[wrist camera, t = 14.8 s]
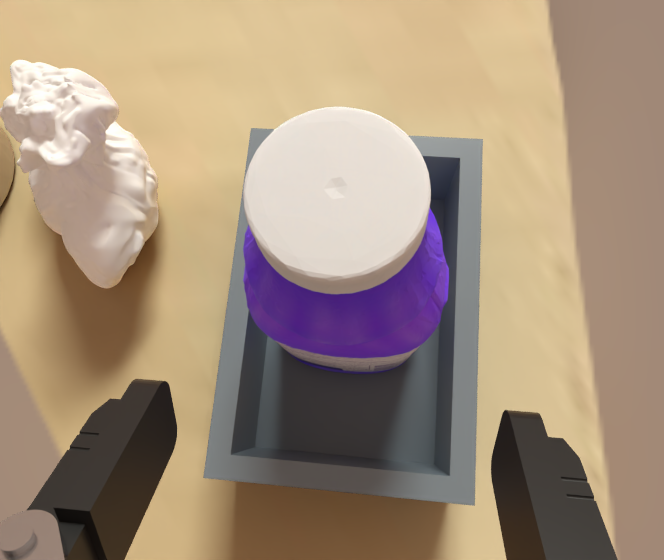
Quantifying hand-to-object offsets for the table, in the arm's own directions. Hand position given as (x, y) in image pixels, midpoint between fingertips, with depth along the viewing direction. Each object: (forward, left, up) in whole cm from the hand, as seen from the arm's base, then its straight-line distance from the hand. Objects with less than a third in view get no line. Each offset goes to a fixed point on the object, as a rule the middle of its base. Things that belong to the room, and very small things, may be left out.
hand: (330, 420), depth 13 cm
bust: (-15, +11, -16) cm, 24 cm away
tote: (0, +5, -16) cm, 16 cm away
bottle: (0, +5, -15) cm, 16 cm away
